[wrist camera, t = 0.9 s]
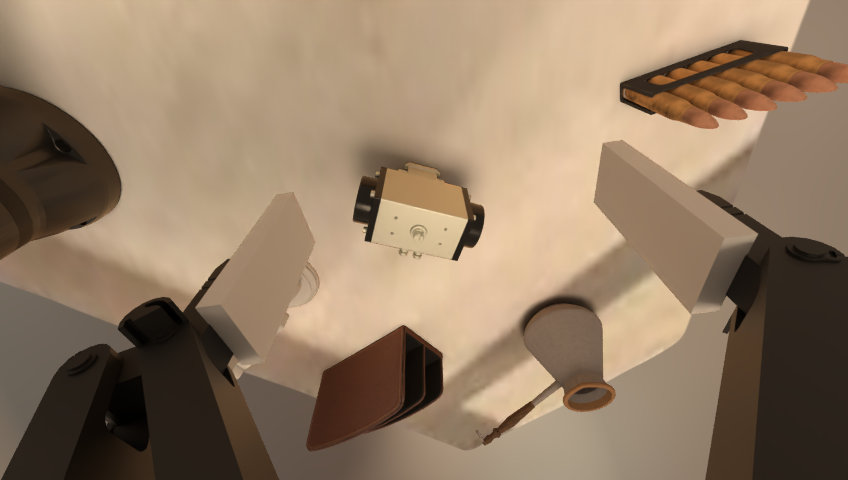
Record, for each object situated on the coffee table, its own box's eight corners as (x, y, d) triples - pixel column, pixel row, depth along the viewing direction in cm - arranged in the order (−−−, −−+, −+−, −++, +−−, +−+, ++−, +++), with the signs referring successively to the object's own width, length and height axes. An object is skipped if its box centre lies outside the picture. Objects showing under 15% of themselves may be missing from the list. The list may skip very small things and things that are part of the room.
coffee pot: (583, 283, 48) (638, 379, 36) (601, 328, 54) (654, 424, 42) (451, 332, 54) (460, 428, 42) (480, 368, 60) (495, 461, 48)
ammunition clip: (742, 39, 31) (892, 57, 21) (739, 60, 32) (880, 87, 22) (619, 83, 33) (703, 118, 23) (620, 102, 34) (701, 143, 24)
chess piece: (333, 287, 48) (304, 384, 36) (282, 310, 51) (238, 408, 39) (286, 239, 43) (233, 333, 31) (231, 268, 46) (163, 364, 34)
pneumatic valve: (372, 145, 36) (354, 199, 26) (474, 172, 38) (492, 231, 28) (363, 189, 39) (344, 252, 29) (458, 212, 41) (469, 278, 31)
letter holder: (322, 370, 61) (299, 457, 49) (404, 323, 53) (399, 412, 42) (362, 393, 65) (350, 478, 54) (443, 352, 58) (448, 439, 46)
